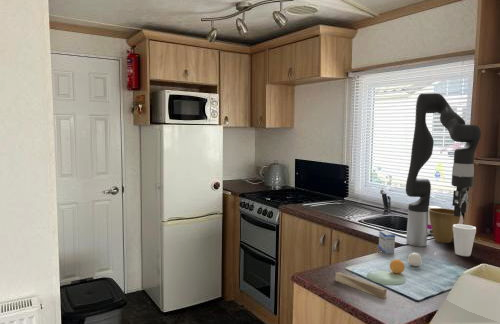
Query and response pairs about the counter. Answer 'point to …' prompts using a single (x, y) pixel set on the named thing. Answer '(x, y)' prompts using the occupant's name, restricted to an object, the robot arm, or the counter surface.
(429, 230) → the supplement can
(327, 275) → the counter surface
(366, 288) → the light wooden bar
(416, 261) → the white ball
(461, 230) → the foam cup
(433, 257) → the counter surface
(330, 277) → the counter surface
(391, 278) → the mint mark
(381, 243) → the medicine box
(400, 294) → the counter surface
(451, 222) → the plant pot
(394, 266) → the orange ball
